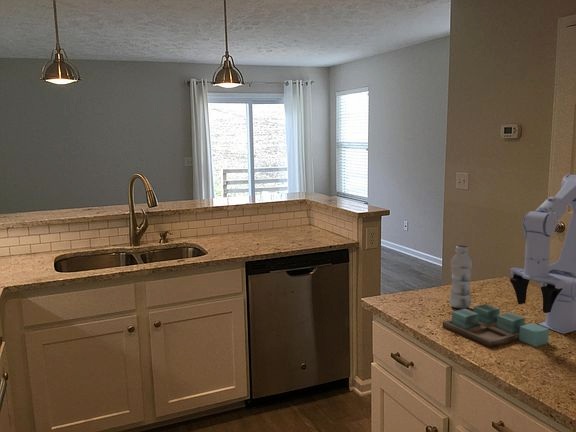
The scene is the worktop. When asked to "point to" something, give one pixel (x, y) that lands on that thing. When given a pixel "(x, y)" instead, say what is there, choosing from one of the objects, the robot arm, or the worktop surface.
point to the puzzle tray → (486, 325)
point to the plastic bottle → (461, 278)
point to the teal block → (533, 334)
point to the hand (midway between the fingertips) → (533, 307)
